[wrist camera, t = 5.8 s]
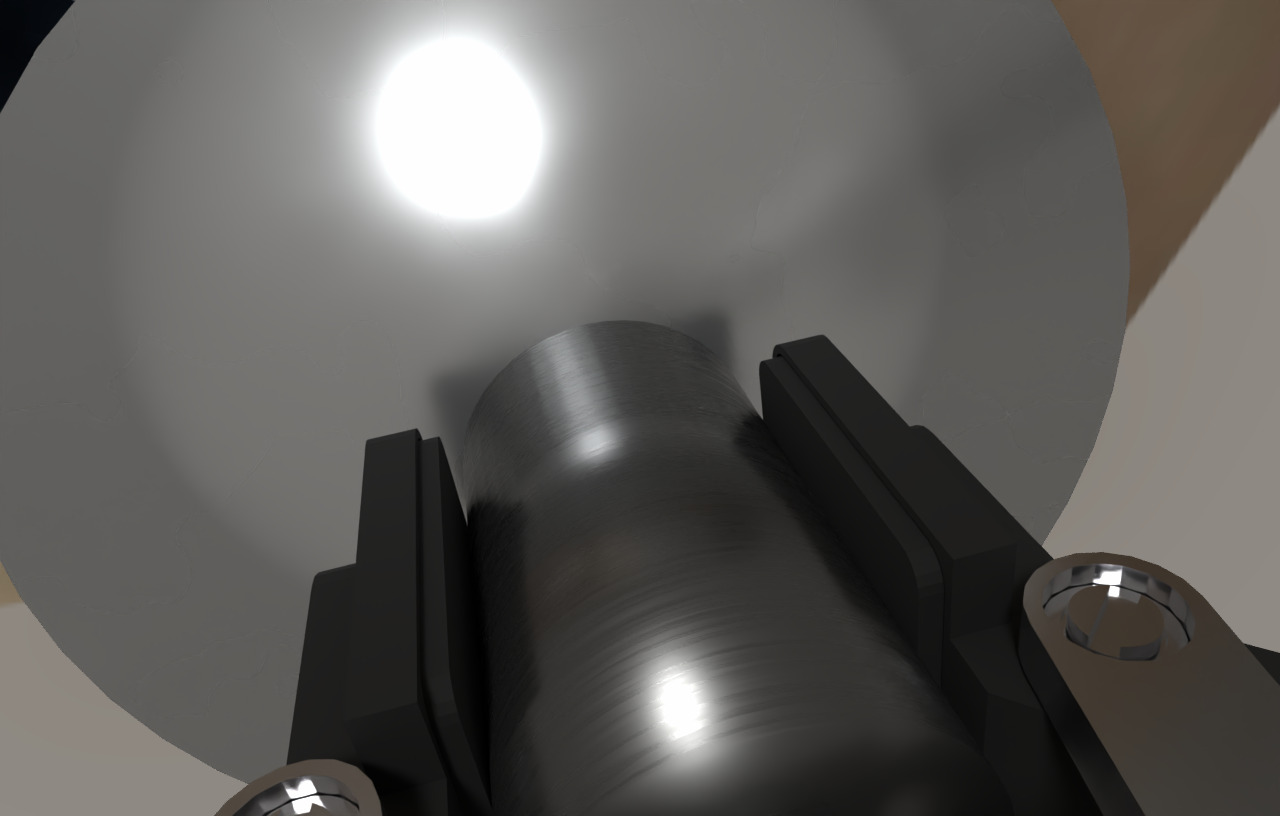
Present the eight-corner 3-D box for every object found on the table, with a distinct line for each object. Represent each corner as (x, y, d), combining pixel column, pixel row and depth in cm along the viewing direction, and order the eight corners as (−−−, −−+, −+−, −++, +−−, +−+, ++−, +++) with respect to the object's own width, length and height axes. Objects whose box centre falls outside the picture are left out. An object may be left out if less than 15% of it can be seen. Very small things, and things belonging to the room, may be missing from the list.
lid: (1149, -320, 9) (2418, -676, 3) (1038, 653, 17) (1389, 1082, 11) (-337, -89, 8) (-2669, -12, 2) (250, 874, 15) (145, 1520, 9)
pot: (384, -162, 24) (355, -181, 16) (491, 299, 30) (507, 443, 23) (-274, -66, 22) (-654, -35, 14) (-8, 396, 29) (-172, 585, 21)
